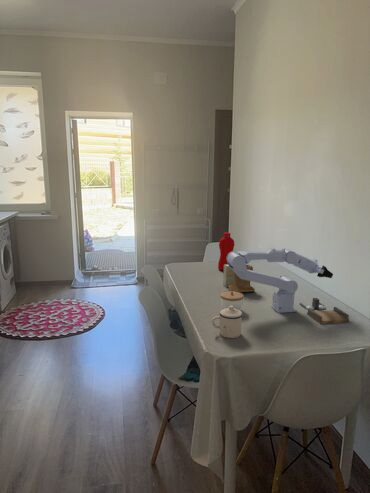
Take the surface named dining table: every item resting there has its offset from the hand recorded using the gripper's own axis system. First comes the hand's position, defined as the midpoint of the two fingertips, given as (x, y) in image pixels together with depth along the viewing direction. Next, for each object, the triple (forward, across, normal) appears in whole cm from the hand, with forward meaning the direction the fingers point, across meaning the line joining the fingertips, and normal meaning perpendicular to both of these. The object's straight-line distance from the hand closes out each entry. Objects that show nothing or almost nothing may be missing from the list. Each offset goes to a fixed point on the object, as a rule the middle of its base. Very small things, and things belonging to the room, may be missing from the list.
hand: (327, 273), depth 176 cm
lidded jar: (-35, +3, +34) cm, 49 cm away
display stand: (+2, -12, +18) cm, 22 cm away
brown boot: (-23, +30, +28) cm, 47 cm away
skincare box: (-26, +40, +29) cm, 56 cm away
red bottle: (-18, +74, +25) cm, 81 cm away
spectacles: (+2, +2, +17) cm, 18 cm away
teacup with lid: (-44, -21, +39) cm, 62 cm away
